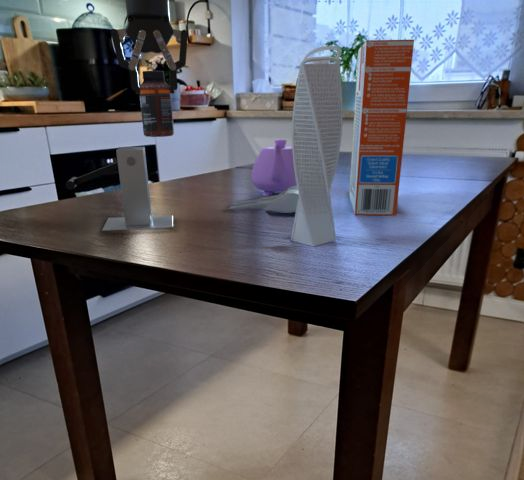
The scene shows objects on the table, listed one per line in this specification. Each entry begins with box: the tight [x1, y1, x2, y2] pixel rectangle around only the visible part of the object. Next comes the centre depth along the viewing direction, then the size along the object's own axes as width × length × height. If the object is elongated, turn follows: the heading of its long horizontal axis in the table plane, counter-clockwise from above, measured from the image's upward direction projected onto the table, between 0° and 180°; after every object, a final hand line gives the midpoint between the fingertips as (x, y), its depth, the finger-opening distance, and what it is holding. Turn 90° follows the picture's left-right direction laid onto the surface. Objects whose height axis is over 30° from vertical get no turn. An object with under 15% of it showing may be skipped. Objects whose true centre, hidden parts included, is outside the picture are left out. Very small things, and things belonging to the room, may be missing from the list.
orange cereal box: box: [348, 39, 415, 217], centre depth 106 cm, size 23×8×30 cm, turn 174°
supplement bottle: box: [138, 70, 175, 138], centre depth 99 cm, size 6×6×11 cm
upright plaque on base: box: [101, 146, 174, 232], centre depth 91 cm, size 12×10×14 cm
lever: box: [65, 161, 119, 191], centre depth 89 cm, size 13×5×2 cm, turn 99°
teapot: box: [250, 139, 297, 197], centre depth 124 cm, size 20×14×12 cm
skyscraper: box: [290, 45, 344, 247], centre depth 79 cm, size 8×8×28 cm
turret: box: [228, 186, 299, 214], centre depth 106 cm, size 10×20×5 cm, turn 82°
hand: (154, 93), depth 98 cm, fingers closed on supplement bottle, 6 cm apart
